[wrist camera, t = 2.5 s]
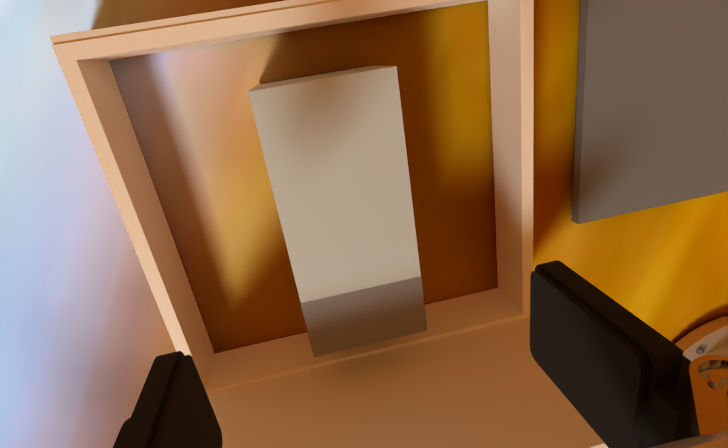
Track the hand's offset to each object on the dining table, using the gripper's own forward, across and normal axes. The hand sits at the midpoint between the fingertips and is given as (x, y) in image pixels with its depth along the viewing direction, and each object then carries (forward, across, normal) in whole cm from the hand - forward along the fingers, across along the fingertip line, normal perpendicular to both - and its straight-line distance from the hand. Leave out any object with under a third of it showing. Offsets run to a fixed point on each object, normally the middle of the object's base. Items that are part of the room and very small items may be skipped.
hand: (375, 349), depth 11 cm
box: (+12, -1, 0) cm, 12 cm away
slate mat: (+12, -20, -4) cm, 23 cm away
